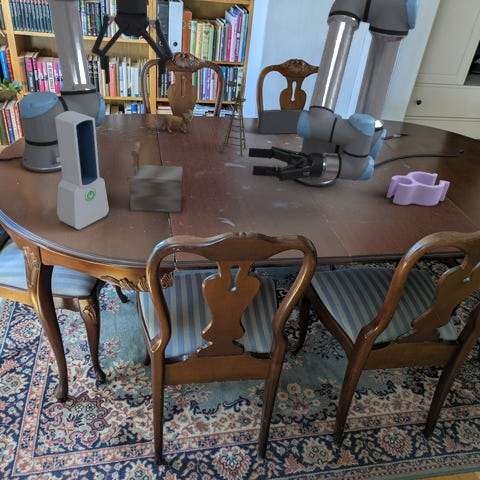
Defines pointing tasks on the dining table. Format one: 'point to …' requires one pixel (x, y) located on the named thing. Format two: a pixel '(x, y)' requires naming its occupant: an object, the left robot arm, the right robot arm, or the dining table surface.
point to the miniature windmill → (238, 100)
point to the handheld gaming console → (278, 121)
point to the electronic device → (79, 171)
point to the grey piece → (152, 170)
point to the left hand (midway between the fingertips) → (134, 84)
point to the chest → (155, 196)
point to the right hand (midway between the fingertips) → (250, 161)
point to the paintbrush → (394, 136)
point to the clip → (417, 189)
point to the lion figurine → (178, 120)
